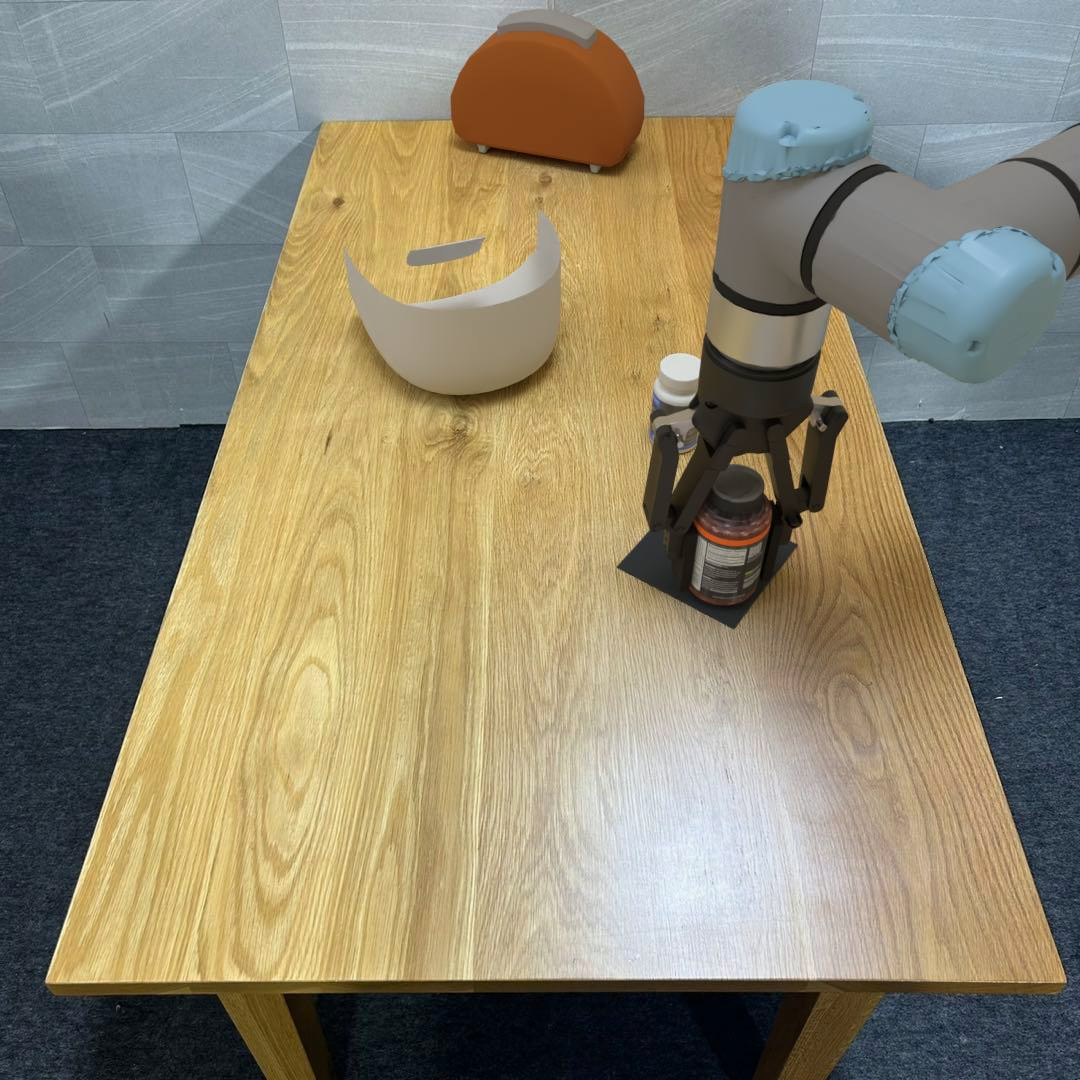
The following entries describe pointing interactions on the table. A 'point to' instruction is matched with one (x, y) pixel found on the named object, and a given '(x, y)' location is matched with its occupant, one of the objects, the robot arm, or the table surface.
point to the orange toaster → (549, 91)
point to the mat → (656, 571)
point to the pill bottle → (676, 390)
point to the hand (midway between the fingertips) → (720, 573)
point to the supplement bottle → (731, 537)
